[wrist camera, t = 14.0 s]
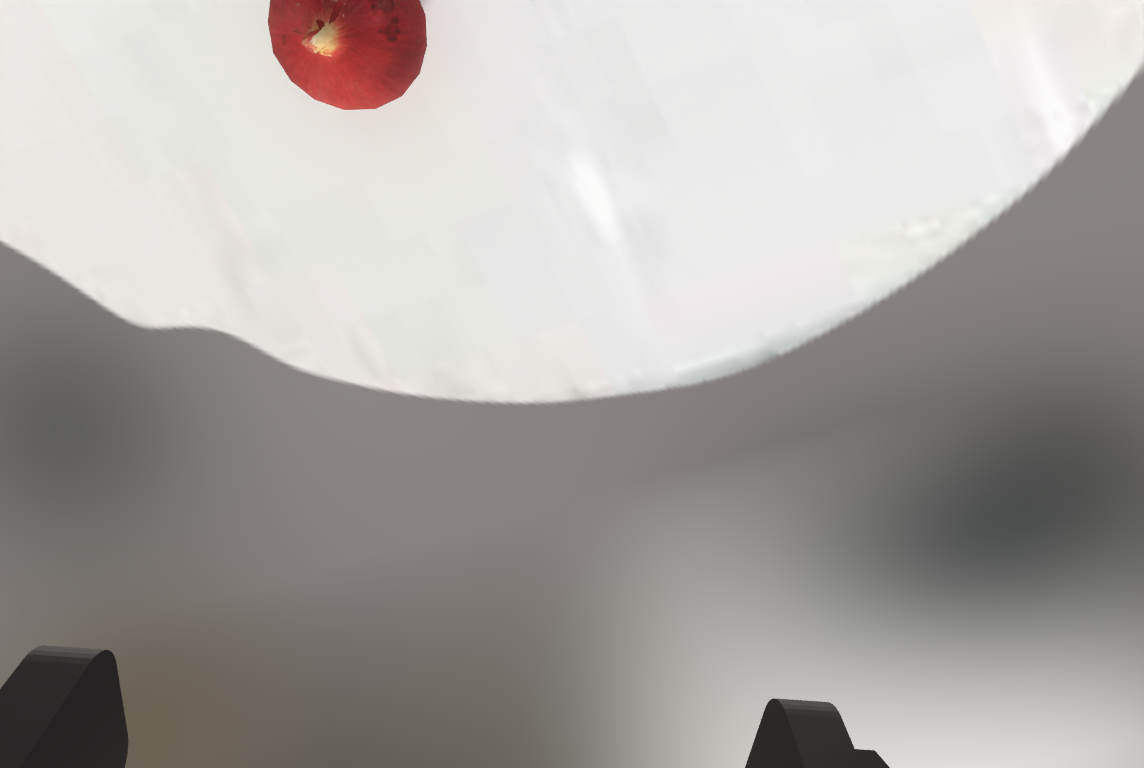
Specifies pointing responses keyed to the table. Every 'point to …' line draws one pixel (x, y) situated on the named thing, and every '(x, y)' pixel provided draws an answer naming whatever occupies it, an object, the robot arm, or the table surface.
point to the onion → (349, 48)
